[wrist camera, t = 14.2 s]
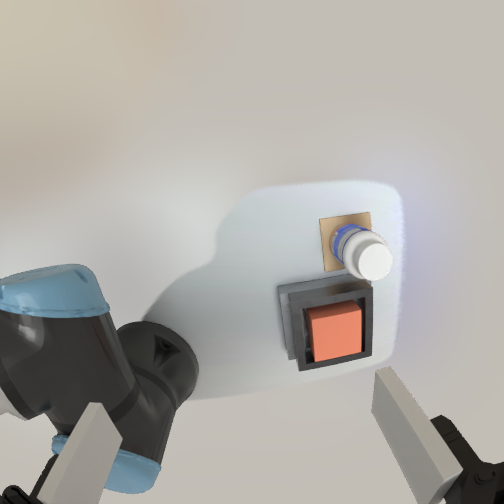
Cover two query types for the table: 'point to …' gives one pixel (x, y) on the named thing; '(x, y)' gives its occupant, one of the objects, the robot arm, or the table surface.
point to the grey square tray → (317, 295)
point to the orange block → (334, 329)
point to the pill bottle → (361, 251)
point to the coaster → (328, 228)
